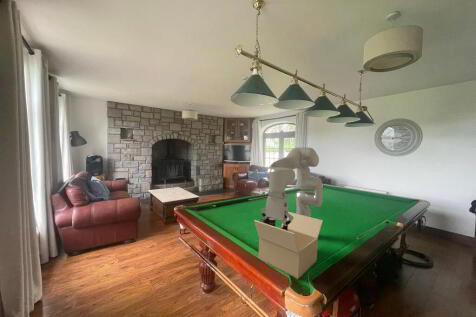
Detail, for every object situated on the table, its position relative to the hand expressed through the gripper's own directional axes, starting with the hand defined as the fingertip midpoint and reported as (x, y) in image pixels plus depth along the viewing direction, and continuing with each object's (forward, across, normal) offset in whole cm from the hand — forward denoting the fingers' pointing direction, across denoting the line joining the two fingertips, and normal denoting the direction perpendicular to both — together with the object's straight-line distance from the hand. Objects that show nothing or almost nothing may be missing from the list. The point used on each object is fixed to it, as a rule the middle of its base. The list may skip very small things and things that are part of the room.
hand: (275, 230), depth 87 cm
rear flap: (+4, 0, -28) cm, 28 cm away
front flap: (+2, 0, 0) cm, 2 cm away
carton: (+19, 0, -13) cm, 23 cm away
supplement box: (+20, +18, -20) cm, 33 cm away
